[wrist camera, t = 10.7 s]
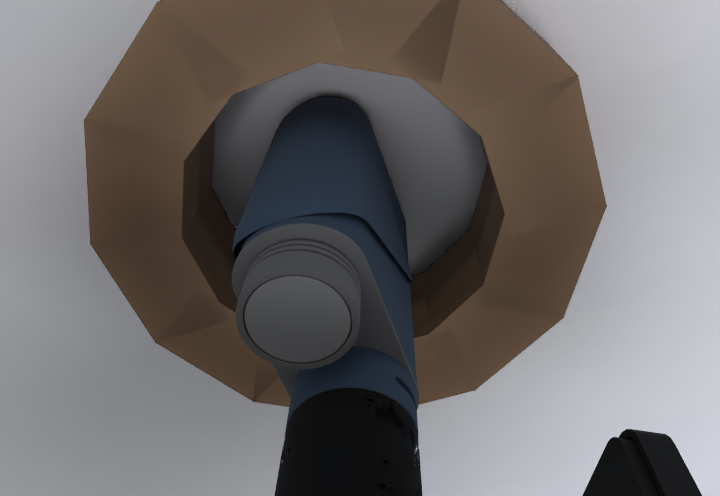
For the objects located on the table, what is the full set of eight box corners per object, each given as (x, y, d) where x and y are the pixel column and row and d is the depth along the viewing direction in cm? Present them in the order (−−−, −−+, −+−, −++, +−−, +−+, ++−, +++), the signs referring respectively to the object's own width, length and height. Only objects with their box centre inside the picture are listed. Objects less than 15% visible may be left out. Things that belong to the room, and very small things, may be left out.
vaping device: (335, 269, 20) (283, 722, 9) (265, 106, 17) (86, 469, 7) (418, 245, 19) (464, 694, 9) (359, 74, 17) (324, 411, 6)
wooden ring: (500, 370, 21) (515, 440, 19) (134, 315, 21) (97, 379, 18) (633, -14, 15) (684, 8, 13) (127, -106, 15) (71, -101, 12)
